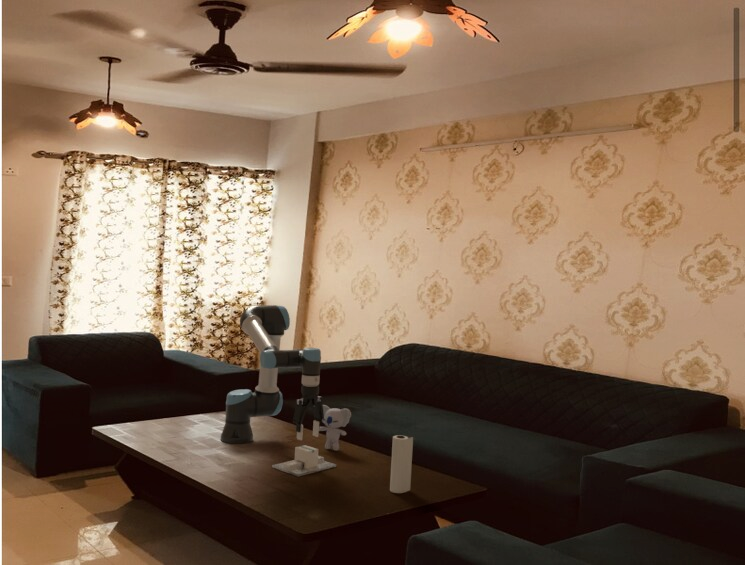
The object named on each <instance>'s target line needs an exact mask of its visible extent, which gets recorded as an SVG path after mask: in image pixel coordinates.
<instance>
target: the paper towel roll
mask: <svg viewBox="0 0 745 565" xmlns="http://www.w3.org/2000/svg"><path fill="white" fill-rule="evenodd" d="M391 445H392V447H391V461H390V462H391V463H390V479H389V480H390V481H389V491H390V492H391V493H394V494H403V493H404V494H405V493H407V492H409V491H411V484H412V483H411V481H412V464H413V463H412V461H413V446H414V437H413V436H411V437H409V436H407V435H401V434H400V435H399V434H398V435H397V434H396V435H392V444H391Z"/></svg>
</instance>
